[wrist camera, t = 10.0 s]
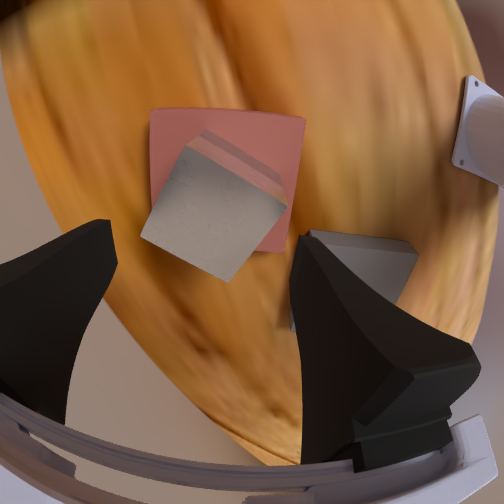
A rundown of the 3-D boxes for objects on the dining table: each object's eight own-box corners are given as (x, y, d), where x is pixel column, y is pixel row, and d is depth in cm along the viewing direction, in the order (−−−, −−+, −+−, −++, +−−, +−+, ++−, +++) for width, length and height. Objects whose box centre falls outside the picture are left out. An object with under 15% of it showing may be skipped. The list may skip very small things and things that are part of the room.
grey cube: (279, 173, 16) (288, 206, 12) (234, 234, 18) (228, 283, 14) (206, 129, 14) (185, 145, 10) (167, 197, 17) (139, 236, 12)
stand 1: (300, 116, 16) (306, 119, 14) (281, 238, 20) (283, 253, 19) (160, 107, 15) (149, 110, 14) (162, 228, 20) (154, 241, 18)
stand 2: (408, 241, 20) (419, 254, 19) (373, 317, 25) (379, 332, 24) (309, 229, 20) (314, 243, 18) (288, 315, 25) (290, 331, 23)
